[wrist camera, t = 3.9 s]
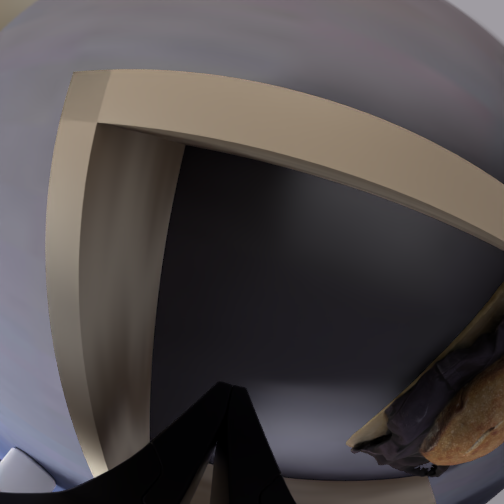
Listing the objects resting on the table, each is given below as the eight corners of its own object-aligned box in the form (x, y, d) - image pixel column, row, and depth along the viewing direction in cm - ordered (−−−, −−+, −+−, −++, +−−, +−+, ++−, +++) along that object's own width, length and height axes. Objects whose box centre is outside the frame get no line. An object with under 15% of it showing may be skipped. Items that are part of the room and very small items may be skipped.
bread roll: (508, 244, 7) (573, 274, 4) (545, 340, 8) (580, 373, 4) (324, 431, 10) (331, 501, 6) (414, 467, 11) (428, 512, 7)
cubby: (419, 480, 10) (432, 527, 7) (135, 446, 11) (106, 503, 7) (561, 264, 6) (615, 295, 3) (166, 112, 7) (73, 72, 3)
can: (52, 472, 16) (7, 543, 4) (61, 489, 17) (26, 550, 6) (7, 436, 16) (-41, 498, 4) (20, 459, 17) (-18, 514, 6)
